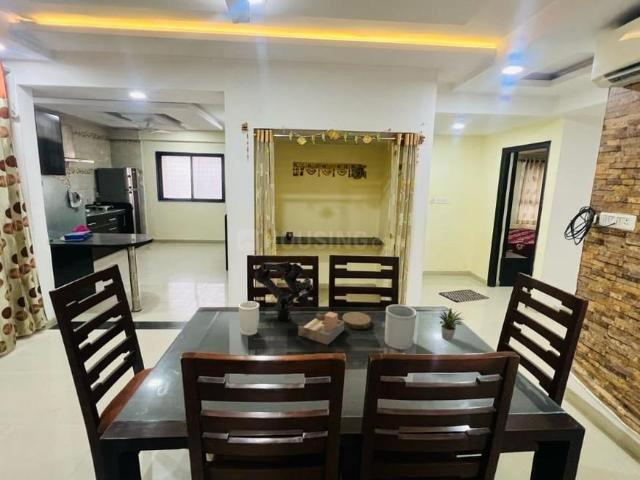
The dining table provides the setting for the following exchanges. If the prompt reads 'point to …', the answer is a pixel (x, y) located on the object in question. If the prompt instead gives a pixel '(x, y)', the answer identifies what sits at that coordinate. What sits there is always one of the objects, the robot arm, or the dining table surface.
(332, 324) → the terracotta block
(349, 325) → the wood slice
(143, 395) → the dining table surface
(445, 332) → the house plant
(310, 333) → the board
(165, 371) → the dining table surface
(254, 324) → the jar
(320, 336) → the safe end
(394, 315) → the utensil holder
